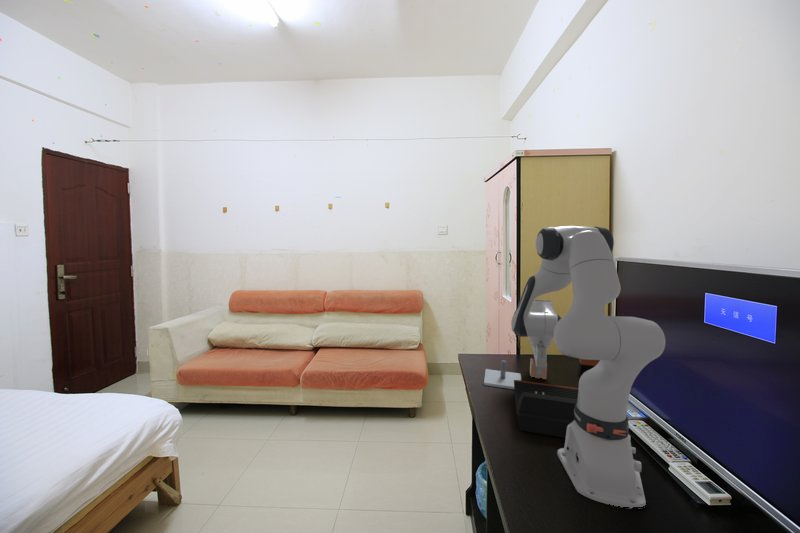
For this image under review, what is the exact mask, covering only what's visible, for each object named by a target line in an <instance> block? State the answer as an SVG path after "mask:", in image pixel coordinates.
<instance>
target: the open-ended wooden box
mask: <svg viewBox="0 0 800 533" xmlns="http://www.w3.org/2000/svg"><path fill="white" fill-rule="evenodd" d="M529 360H530V362H529V363H530V365H529V376H531V377H530V378H532V377H535V378H534V379H540V378H542V380H547V372H548V363H547V362H546V368H542V374H541V375H538V374H537V367H536V363H535V359H534V358H532V357H531V358H530V359H529Z"/></svg>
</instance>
